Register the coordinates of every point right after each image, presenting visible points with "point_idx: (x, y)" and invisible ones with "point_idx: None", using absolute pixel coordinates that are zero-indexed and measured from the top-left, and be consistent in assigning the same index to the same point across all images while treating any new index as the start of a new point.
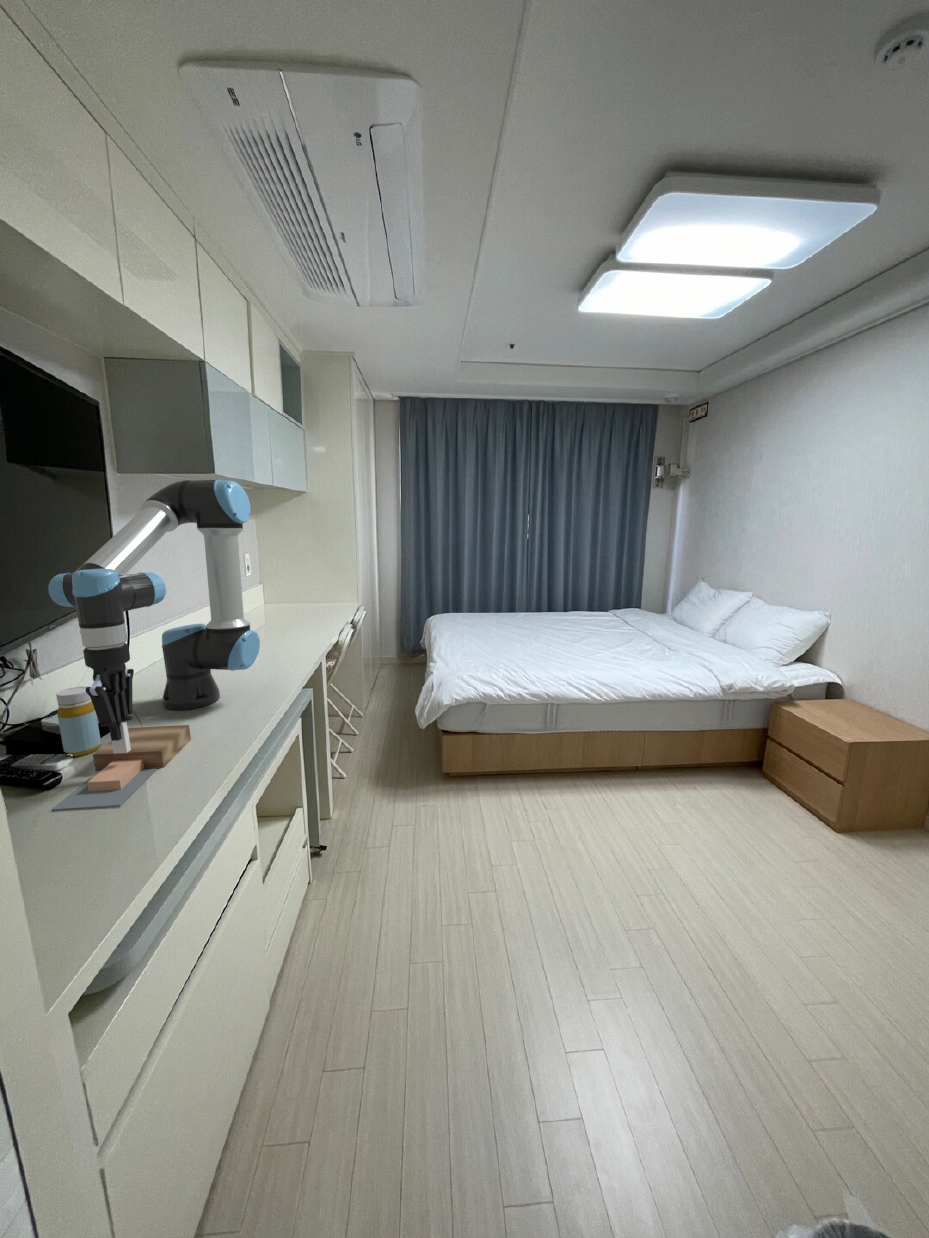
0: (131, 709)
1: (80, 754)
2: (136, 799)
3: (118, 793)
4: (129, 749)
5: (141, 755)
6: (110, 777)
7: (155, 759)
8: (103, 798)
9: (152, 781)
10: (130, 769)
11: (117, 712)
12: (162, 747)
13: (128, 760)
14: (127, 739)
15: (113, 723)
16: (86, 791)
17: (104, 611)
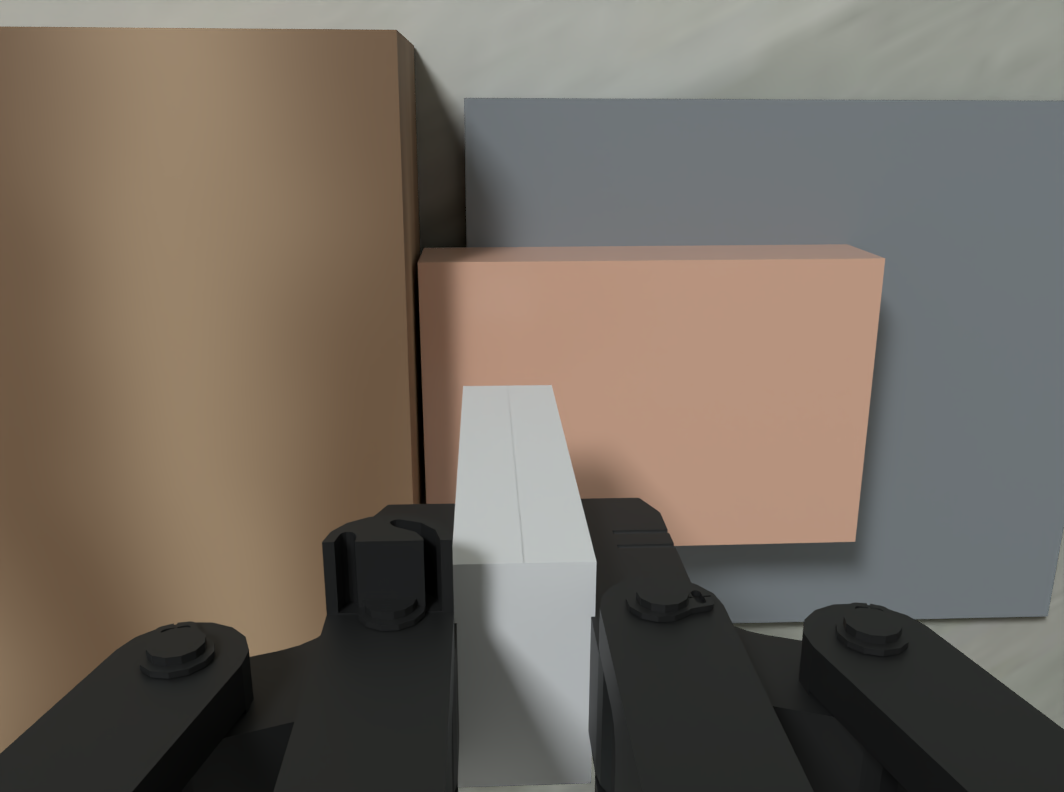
0: (131, 680)
1: None
2: (1031, 14)
3: (919, 227)
4: (491, 391)
5: (410, 281)
6: (804, 381)
7: (407, 125)
8: (981, 313)
9: (703, 26)
10: (659, 270)
11: (762, 768)
12: (289, 70)
13: (442, 401)
14: (509, 437)
15: (918, 639)
16: None
17: None
